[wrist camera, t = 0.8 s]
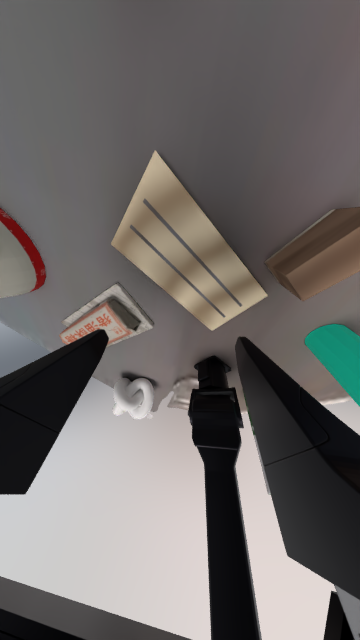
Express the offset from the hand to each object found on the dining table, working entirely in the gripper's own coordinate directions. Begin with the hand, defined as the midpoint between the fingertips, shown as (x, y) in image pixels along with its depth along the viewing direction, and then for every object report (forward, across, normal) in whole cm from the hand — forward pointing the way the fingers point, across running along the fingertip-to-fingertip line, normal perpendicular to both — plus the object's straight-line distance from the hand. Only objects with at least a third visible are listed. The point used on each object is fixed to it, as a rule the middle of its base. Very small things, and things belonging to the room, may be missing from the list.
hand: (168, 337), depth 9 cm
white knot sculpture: (+14, +15, +34) cm, 39 cm away
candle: (+14, -25, +11) cm, 30 cm away
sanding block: (+13, -14, -3) cm, 20 cm away
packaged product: (+14, +16, +10) cm, 24 cm away
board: (+13, -1, -1) cm, 13 cm away
